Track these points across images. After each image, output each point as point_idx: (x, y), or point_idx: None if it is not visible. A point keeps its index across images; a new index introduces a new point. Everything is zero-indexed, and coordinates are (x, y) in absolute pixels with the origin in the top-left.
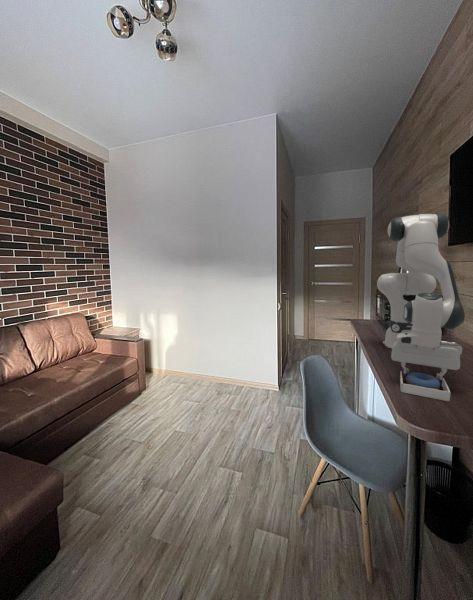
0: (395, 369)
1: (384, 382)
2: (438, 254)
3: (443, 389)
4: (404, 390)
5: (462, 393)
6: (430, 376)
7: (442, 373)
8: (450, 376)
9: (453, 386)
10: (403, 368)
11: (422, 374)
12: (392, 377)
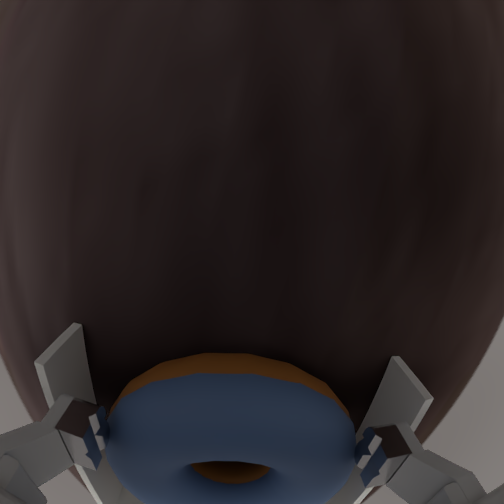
0: (63, 66)
1: (27, 406)
2: None
3: (364, 422)
4: (130, 497)
5: (441, 404)
6: (304, 477)
7: (405, 498)
8: (501, 99)
9: (461, 319)
10: (48, 462)
11: (238, 459)
12: (31, 313)
